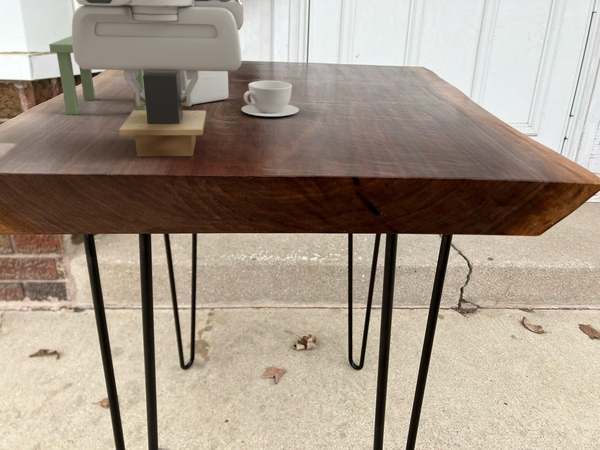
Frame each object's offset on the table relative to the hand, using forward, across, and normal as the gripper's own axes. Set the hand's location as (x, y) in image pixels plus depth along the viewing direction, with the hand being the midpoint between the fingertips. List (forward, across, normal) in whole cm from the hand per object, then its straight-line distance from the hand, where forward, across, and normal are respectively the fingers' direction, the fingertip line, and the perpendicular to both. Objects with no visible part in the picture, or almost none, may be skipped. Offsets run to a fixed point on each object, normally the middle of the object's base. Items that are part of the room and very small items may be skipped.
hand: (164, 105), depth 69 cm
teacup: (+6, -15, -21) cm, 26 cm away
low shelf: (+6, 0, 0) cm, 6 cm away
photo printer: (+6, -3, -29) cm, 30 cm away
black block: (+2, 0, 0) cm, 2 cm away
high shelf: (+6, +12, -25) cm, 28 cm away
